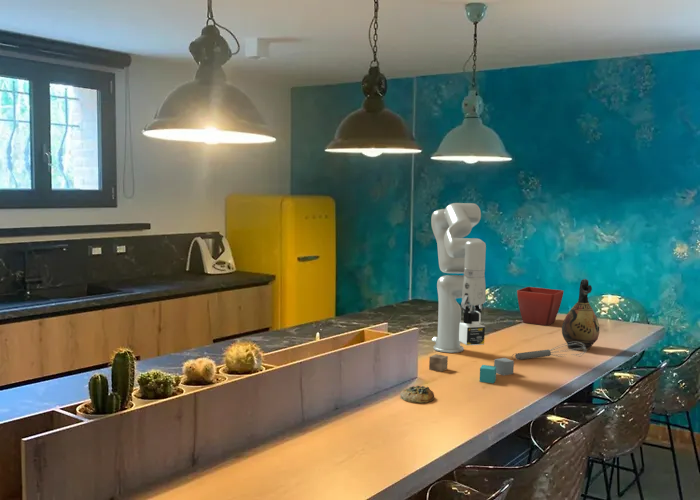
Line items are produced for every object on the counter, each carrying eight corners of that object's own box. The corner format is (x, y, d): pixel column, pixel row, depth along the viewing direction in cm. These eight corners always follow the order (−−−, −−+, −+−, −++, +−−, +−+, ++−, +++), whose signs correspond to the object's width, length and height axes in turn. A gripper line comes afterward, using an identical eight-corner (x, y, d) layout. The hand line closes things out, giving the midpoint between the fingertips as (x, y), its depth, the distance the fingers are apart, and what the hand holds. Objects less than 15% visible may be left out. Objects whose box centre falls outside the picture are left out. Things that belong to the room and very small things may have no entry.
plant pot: (562, 322, 356) (564, 289, 355) (552, 327, 340) (554, 294, 338) (526, 317, 366) (528, 286, 365) (514, 323, 350) (516, 290, 349)
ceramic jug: (601, 353, 288) (604, 283, 285) (562, 351, 291) (566, 281, 288) (595, 344, 305) (598, 277, 302) (559, 342, 308) (562, 276, 305)
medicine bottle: (466, 345, 251) (468, 313, 250) (458, 341, 258) (459, 309, 256) (484, 344, 253) (485, 312, 252) (475, 340, 260) (477, 309, 258)
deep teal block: (479, 381, 242) (480, 368, 242) (481, 378, 247) (482, 364, 246) (493, 383, 240) (494, 369, 240) (495, 379, 245) (496, 366, 244)
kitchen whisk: (508, 358, 278) (508, 343, 277) (580, 354, 287) (581, 340, 286) (515, 362, 272) (516, 346, 271) (589, 358, 281) (590, 343, 280)
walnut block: (429, 369, 257) (429, 356, 256) (435, 367, 261) (435, 354, 261) (441, 372, 254) (441, 358, 254) (447, 369, 258) (447, 356, 258)
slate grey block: (493, 372, 255) (494, 359, 255) (504, 370, 257) (504, 357, 257) (503, 375, 251) (503, 362, 250) (513, 374, 253) (513, 360, 253)
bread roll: (431, 393, 227) (431, 379, 226) (436, 408, 216) (436, 393, 215) (398, 394, 227) (398, 380, 226) (401, 409, 216) (401, 394, 215)
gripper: (471, 277, 244) (469, 327, 245) (494, 273, 257) (492, 320, 259) (453, 275, 248) (451, 323, 250) (476, 270, 262) (475, 317, 263)
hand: (472, 321), depth 254 cm, fingers closed on medicine bottle, 6 cm apart
